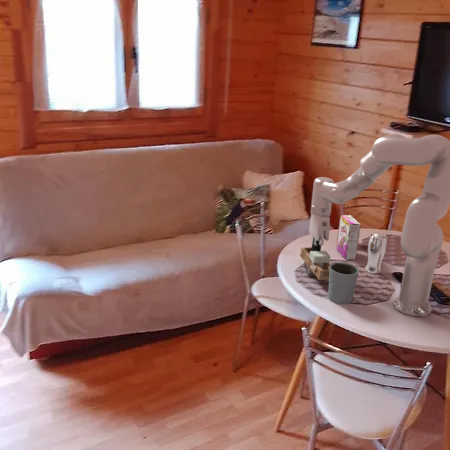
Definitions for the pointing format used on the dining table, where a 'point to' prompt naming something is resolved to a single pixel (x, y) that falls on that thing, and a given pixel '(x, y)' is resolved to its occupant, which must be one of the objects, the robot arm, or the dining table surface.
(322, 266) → the block
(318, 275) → the brown long open box
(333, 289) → the grey green cup
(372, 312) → the dining table surface
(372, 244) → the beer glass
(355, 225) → the candy bar box
